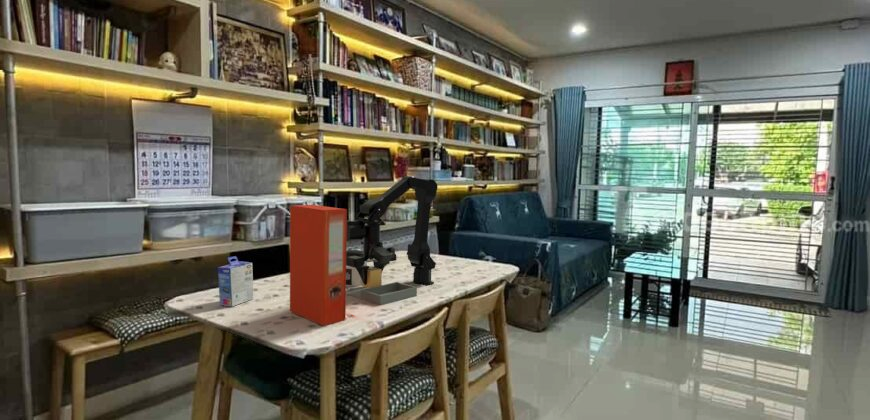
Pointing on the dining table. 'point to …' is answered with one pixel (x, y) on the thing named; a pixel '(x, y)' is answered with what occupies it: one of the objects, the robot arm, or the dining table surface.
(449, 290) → the dining table surface
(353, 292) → the lid
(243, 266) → the ink cartridge box
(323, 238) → the file binder
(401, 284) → the case
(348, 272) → the container
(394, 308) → the dining table surface
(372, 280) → the block
